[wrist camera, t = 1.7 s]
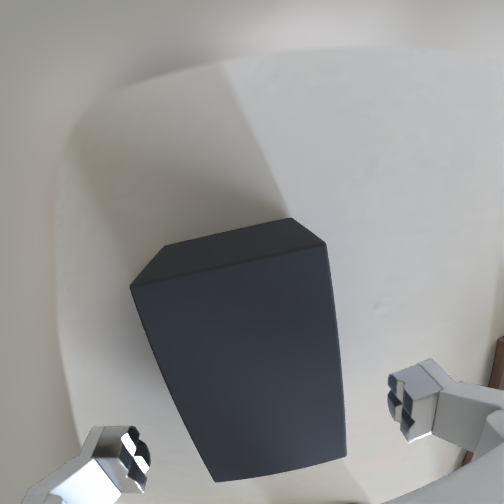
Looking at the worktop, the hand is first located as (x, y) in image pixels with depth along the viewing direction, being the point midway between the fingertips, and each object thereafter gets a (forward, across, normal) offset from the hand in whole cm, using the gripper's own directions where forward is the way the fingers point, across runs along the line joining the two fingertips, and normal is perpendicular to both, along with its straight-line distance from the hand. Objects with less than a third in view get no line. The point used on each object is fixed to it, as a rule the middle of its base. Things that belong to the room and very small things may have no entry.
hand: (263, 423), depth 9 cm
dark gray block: (+6, 0, 0) cm, 6 cm away
